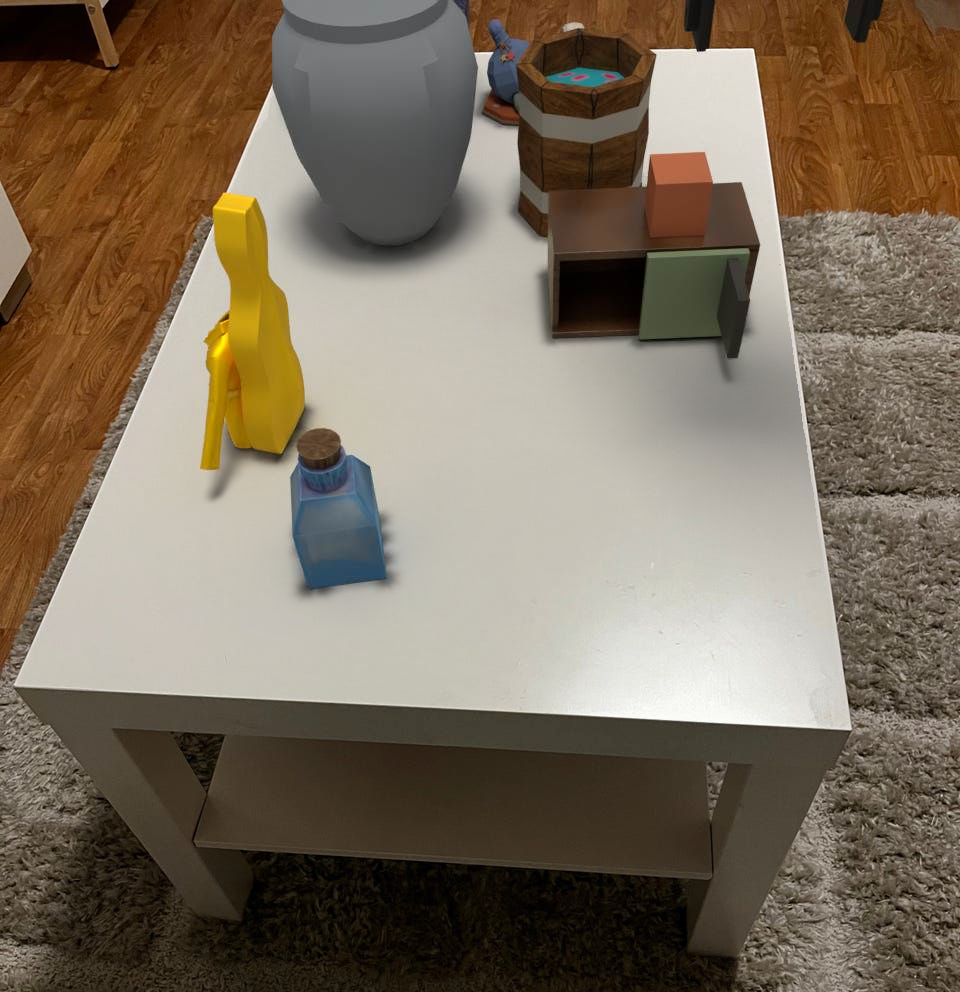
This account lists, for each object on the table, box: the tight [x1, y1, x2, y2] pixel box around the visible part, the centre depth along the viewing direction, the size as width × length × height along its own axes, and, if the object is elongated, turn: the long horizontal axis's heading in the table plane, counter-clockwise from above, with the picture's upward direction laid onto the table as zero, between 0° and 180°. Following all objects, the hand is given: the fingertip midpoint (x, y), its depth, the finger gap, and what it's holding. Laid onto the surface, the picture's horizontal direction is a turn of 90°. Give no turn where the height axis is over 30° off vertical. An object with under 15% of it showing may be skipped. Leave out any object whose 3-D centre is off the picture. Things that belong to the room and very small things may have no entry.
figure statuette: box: [199, 192, 306, 471], centre depth 78 cm, size 18×8×22 cm, turn 166°
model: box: [481, 18, 531, 127], centre depth 114 cm, size 12×9×9 cm
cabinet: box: [546, 181, 761, 339], centre depth 91 cm, size 18×10×9 cm, turn 90°
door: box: [638, 248, 751, 360], centre depth 86 cm, size 9×7×9 cm
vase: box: [271, 0, 479, 246], centre depth 95 cm, size 20×20×24 cm
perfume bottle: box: [289, 427, 388, 590], centre depth 73 cm, size 6×6×12 cm
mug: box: [516, 21, 657, 238], centre depth 101 cm, size 20×14×15 cm
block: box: [645, 151, 714, 238], centre depth 85 cm, size 5×5×5 cm
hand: (776, 37), depth 61 cm, fingers open, 9 cm apart
